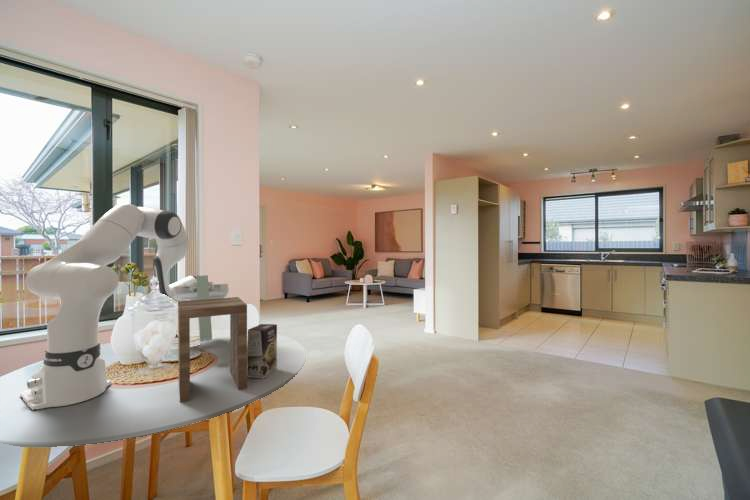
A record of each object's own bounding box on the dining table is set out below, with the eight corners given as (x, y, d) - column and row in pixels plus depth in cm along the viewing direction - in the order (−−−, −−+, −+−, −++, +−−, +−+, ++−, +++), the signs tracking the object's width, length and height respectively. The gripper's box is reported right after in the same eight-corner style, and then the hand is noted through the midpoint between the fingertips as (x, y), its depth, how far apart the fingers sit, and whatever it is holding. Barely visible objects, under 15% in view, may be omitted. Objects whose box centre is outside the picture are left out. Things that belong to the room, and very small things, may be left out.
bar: (196, 279, 139) (196, 275, 136) (207, 279, 141) (207, 275, 138) (199, 341, 127) (200, 338, 125) (211, 340, 129) (212, 337, 127)
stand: (178, 381, 109) (178, 301, 109) (238, 371, 119) (237, 297, 118) (179, 402, 96) (179, 310, 95) (247, 388, 105) (247, 304, 104)
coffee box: (264, 379, 112) (264, 330, 112) (246, 377, 113) (246, 329, 113) (277, 369, 121) (277, 324, 120) (261, 367, 122) (261, 323, 122)
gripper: (172, 291, 142) (172, 278, 131) (225, 288, 152) (229, 275, 142) (172, 306, 139) (172, 293, 129) (226, 301, 150) (230, 289, 139)
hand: (202, 284), depth 135 cm, fingers closed on bar, 4 cm apart
